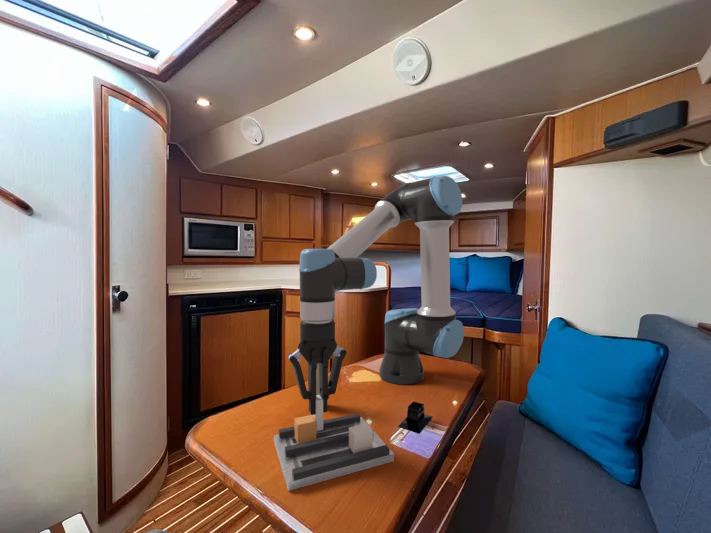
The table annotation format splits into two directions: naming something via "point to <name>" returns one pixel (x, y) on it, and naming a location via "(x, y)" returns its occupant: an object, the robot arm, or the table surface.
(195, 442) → the table surface
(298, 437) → the toggle
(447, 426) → the table surface
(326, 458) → the panel
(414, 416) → the black notched stand
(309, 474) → the slotted rail tray
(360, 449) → the toggle
